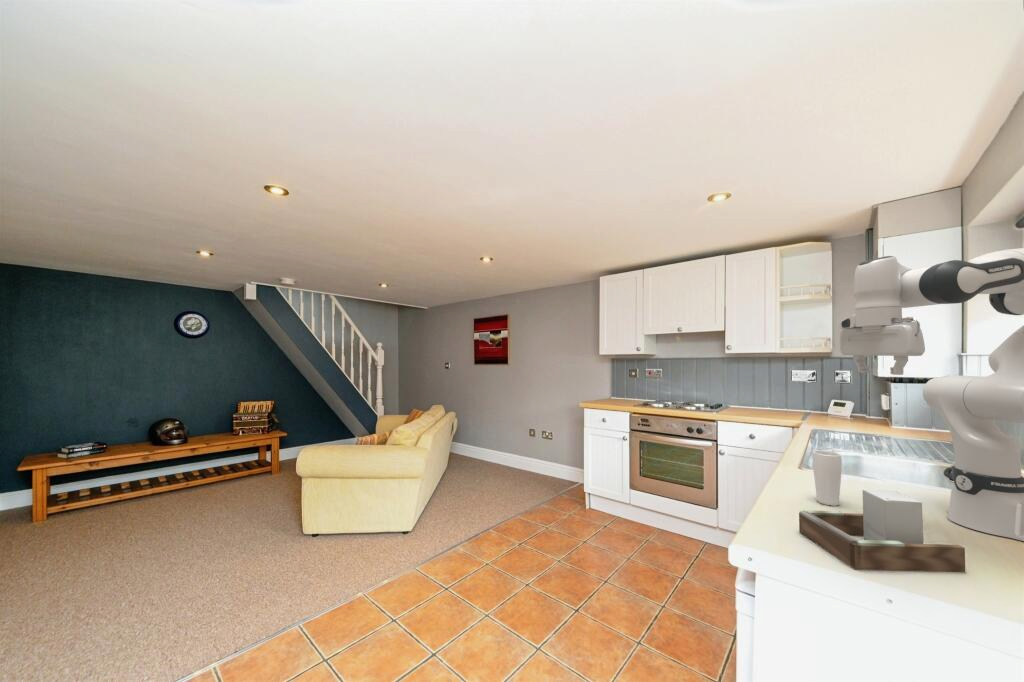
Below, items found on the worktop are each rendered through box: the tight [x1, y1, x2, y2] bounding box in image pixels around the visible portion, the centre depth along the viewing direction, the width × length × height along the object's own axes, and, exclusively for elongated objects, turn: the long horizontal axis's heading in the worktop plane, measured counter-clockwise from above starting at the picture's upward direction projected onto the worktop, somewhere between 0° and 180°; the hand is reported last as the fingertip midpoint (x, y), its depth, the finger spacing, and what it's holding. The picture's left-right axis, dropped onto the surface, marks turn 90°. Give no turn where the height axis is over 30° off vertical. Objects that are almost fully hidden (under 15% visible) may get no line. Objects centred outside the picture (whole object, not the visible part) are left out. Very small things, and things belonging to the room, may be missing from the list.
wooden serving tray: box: [798, 509, 967, 573], centre depth 88 cm, size 22×17×6 cm
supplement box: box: [862, 489, 924, 544], centre depth 88 cm, size 7×7×13 cm
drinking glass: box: [812, 449, 843, 507], centre depth 115 cm, size 7×7×15 cm
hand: (879, 373), depth 98 cm, fingers open, 8 cm apart
